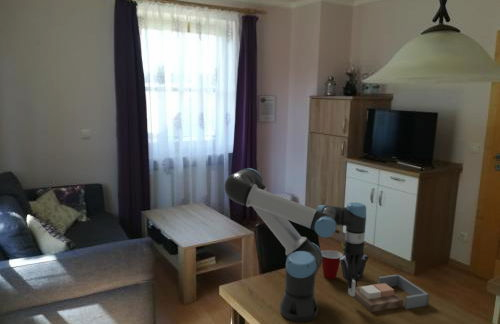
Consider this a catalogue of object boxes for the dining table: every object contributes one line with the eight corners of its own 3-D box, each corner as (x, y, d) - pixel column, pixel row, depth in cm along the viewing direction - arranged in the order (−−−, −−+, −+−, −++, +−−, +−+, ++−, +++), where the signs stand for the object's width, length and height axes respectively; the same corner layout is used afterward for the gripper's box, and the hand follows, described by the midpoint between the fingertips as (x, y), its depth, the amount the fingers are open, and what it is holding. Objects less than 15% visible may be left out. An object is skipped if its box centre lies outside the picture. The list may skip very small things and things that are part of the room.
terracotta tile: (381, 297, 162) (382, 291, 162) (372, 290, 168) (373, 284, 167) (393, 295, 164) (394, 289, 164) (384, 288, 170) (384, 283, 169)
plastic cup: (339, 272, 191) (341, 249, 189) (342, 282, 180) (344, 258, 178) (317, 270, 192) (318, 248, 190) (319, 281, 181) (320, 257, 179)
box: (406, 309, 159) (407, 297, 158) (377, 287, 177) (378, 277, 176) (427, 305, 162) (429, 294, 161) (397, 284, 180) (398, 274, 179)
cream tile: (368, 299, 160) (368, 293, 160) (360, 292, 166) (360, 286, 165) (380, 297, 162) (381, 291, 162) (371, 290, 168) (372, 285, 167)
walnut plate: (370, 312, 156) (370, 305, 155) (349, 294, 170) (350, 287, 169) (402, 306, 161) (403, 299, 160) (380, 289, 175) (380, 283, 174)
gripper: (345, 245, 151) (342, 301, 155) (374, 242, 155) (370, 296, 159) (335, 239, 158) (332, 292, 162) (363, 236, 162) (359, 288, 166)
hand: (351, 294), depth 160 cm, fingers closed
